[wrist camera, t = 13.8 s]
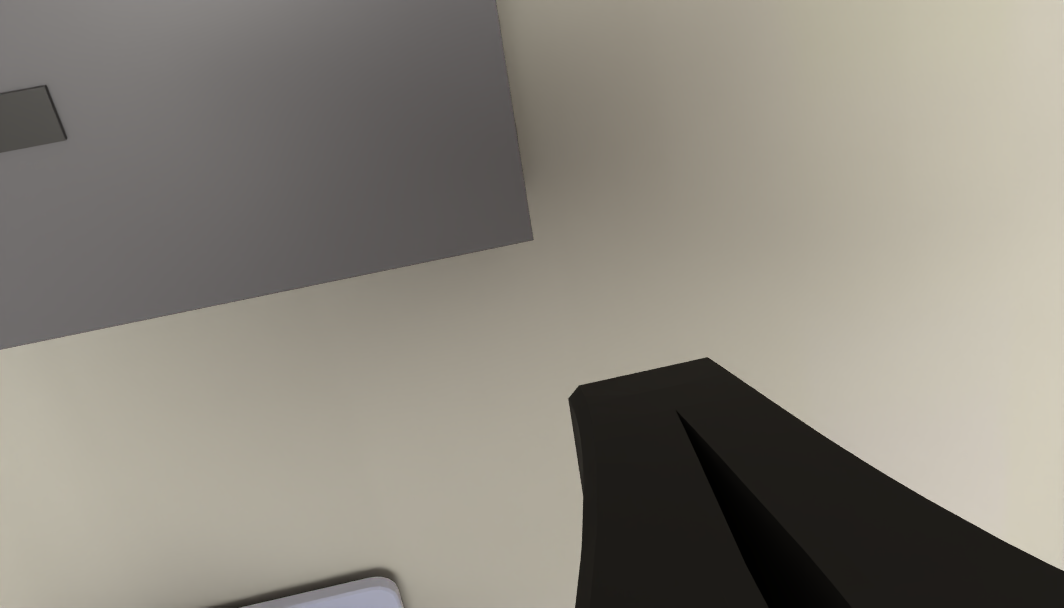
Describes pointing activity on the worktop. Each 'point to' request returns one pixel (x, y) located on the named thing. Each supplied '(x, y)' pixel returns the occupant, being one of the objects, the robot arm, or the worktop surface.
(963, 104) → the worktop surface
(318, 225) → the console
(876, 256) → the worktop surface
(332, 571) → the worktop surface
